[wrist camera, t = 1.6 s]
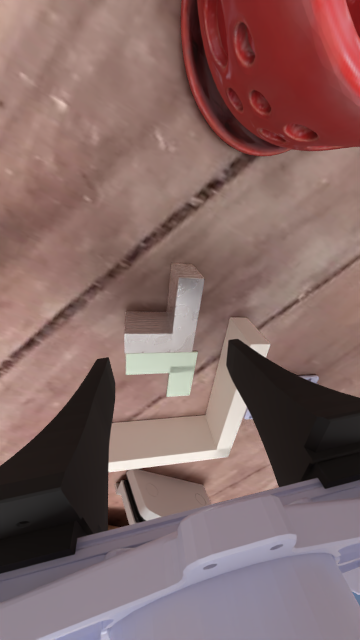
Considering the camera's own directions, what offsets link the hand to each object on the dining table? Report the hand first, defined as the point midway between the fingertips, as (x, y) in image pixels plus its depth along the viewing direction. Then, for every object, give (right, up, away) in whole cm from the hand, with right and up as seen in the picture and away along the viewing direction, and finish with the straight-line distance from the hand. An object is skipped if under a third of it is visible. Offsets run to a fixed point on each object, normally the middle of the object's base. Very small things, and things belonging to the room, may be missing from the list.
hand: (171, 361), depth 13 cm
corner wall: (-1, -5, +14) cm, 15 cm away
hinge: (-2, -26, +26) cm, 37 cm away
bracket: (-2, +5, +8) cm, 10 cm away
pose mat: (-2, -4, +13) cm, 14 cm away
